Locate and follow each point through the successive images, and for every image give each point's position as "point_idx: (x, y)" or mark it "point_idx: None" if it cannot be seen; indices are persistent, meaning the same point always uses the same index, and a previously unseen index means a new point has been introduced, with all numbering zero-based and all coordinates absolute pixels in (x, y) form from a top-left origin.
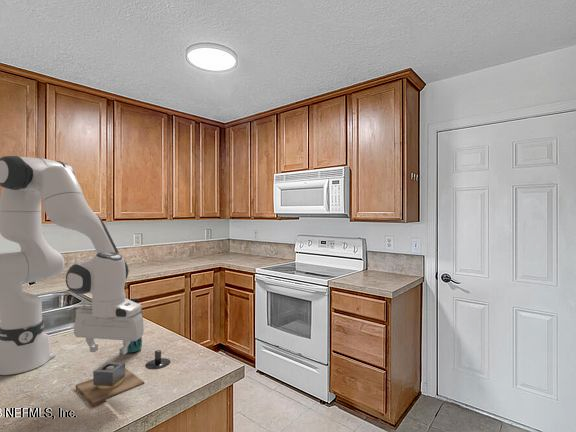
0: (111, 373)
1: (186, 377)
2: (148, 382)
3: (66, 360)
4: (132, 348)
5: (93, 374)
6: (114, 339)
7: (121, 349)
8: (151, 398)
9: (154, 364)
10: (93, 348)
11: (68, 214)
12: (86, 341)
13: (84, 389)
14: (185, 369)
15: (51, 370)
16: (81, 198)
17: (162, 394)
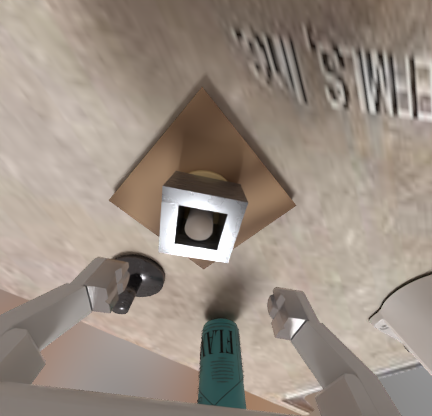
0: (169, 185)
1: (30, 224)
2: (115, 211)
3: (343, 306)
4: (214, 327)
5: (245, 197)
6: (58, 396)
7: (93, 283)
8: (47, 125)
9: (141, 276)
10: (288, 307)
11: None
12: (368, 370)
13: (263, 178)
14: (61, 256)
15: (366, 277)
16: None
17: (30, 145)
